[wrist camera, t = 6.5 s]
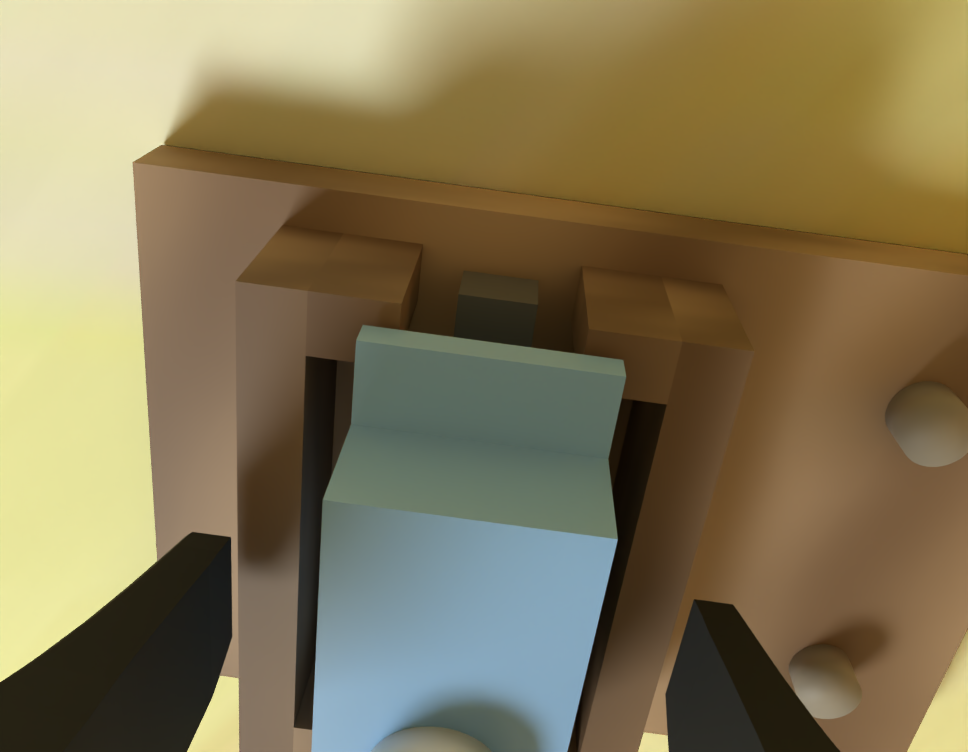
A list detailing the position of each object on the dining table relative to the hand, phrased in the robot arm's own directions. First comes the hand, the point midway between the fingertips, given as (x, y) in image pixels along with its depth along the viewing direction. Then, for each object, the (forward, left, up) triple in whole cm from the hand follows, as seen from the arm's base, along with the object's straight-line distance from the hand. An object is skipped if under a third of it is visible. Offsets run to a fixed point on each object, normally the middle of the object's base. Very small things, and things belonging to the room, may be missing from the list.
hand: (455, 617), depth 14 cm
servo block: (0, 0, -3) cm, 3 cm away
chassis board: (-2, -1, -4) cm, 5 cm away
